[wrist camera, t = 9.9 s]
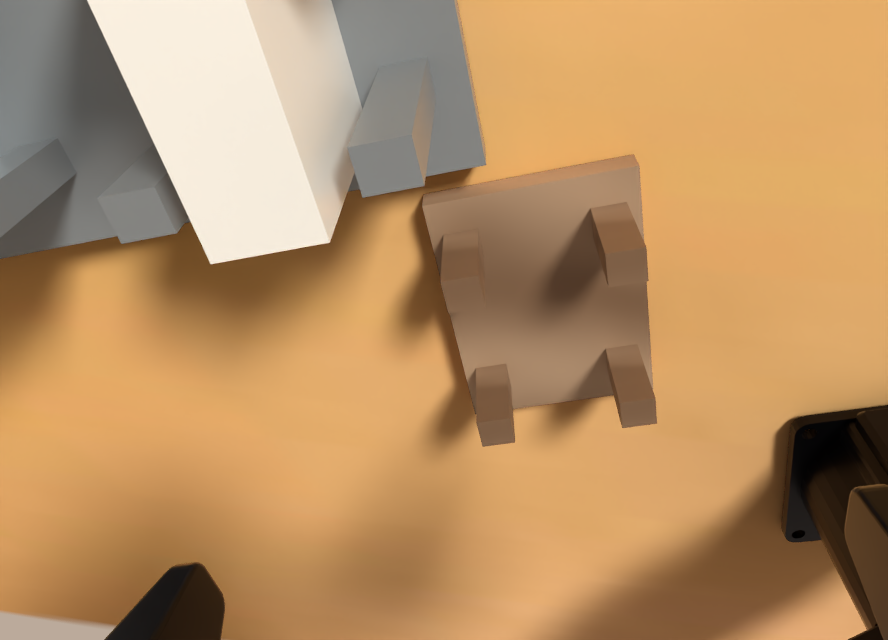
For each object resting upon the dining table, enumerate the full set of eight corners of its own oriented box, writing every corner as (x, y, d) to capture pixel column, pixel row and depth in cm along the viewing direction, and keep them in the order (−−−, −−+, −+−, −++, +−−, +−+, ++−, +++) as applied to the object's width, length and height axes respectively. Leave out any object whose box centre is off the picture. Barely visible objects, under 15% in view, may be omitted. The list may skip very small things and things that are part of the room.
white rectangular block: (368, 131, 18) (329, 242, 13) (280, 149, 18) (210, 264, 13) (274, -200, 14) (167, -223, 9) (165, -169, 14) (5, -174, 9)
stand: (648, 374, 24) (671, 445, 21) (475, 399, 24) (475, 470, 22) (633, 154, 19) (661, 208, 16) (423, 194, 20) (416, 250, 17)
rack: (484, 148, 19) (491, 268, 14) (-76, 258, 22) (-255, 396, 16) (394, -327, 14) (344, -437, 8) (-341, -103, 16) (-742, -75, 11)
